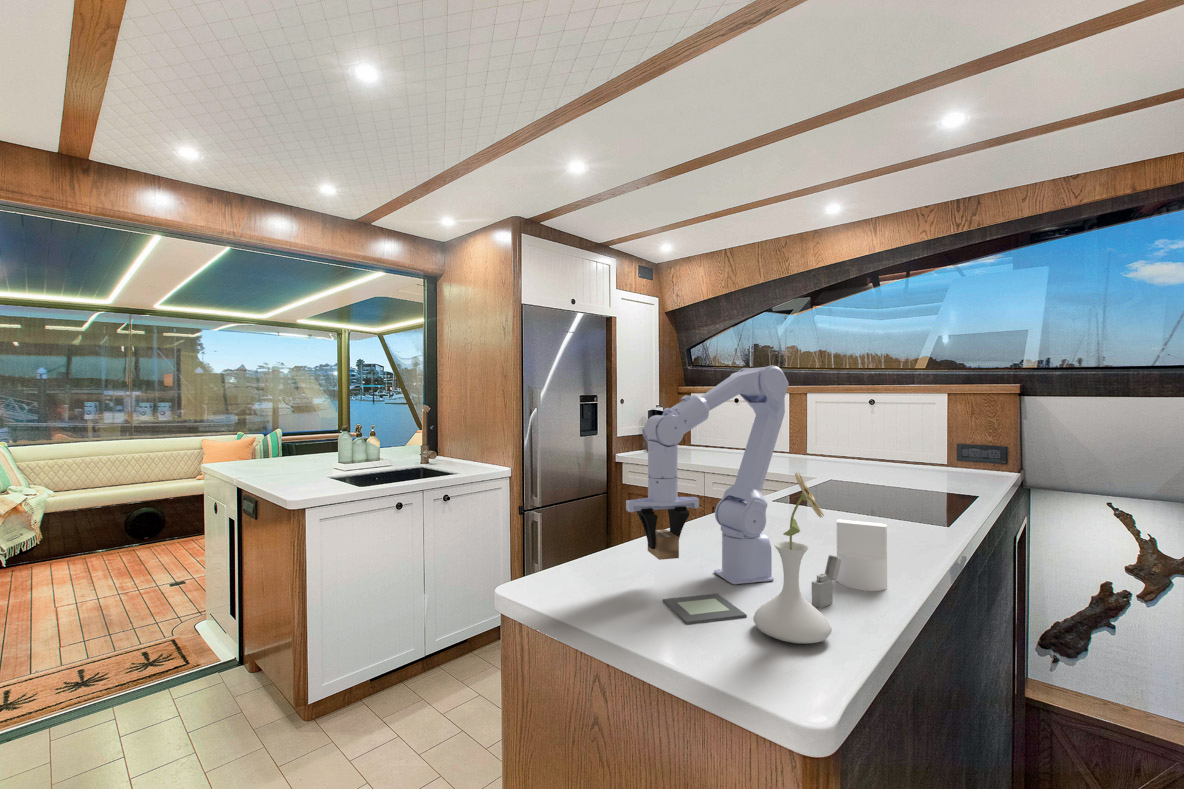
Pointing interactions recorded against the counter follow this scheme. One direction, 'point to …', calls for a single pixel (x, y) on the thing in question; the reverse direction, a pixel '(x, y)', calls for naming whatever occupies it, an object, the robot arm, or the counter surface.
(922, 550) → the counter surface
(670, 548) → the cardboard box
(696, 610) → the mat
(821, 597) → the lighter
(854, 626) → the counter surface
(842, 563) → the cylinder with rectangular tab
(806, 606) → the flower in vase
